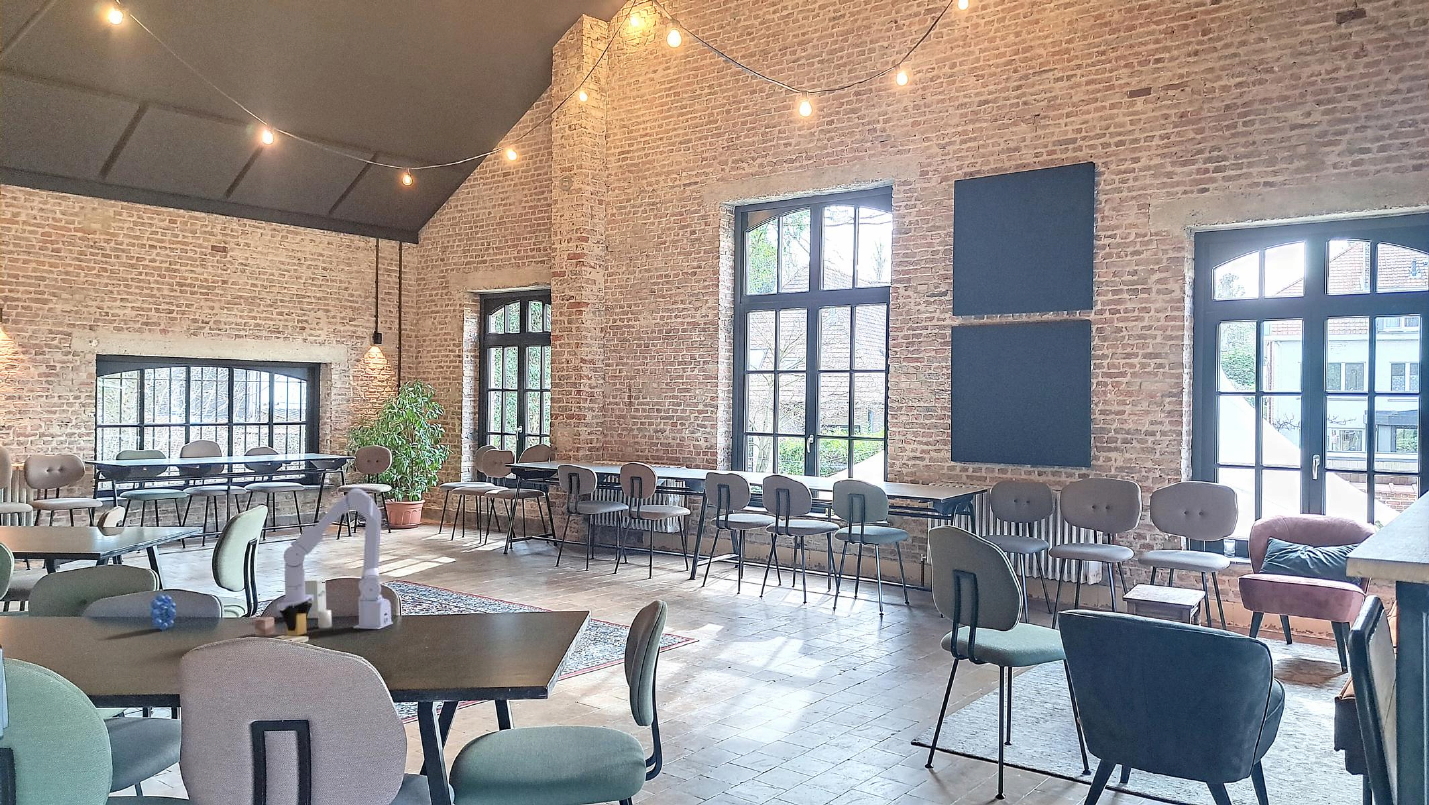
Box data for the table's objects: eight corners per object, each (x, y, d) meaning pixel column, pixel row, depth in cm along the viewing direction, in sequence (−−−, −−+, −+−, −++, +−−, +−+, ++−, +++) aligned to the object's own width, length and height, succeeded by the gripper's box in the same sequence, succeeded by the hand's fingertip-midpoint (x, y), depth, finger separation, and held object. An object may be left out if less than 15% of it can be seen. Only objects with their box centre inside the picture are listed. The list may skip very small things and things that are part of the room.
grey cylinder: (334, 625, 327) (333, 610, 327) (326, 628, 323) (325, 612, 323) (323, 625, 328) (323, 609, 328) (315, 628, 324) (315, 612, 324)
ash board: (308, 640, 307) (308, 636, 307) (285, 649, 298) (285, 645, 298) (280, 639, 310) (280, 635, 310) (257, 647, 301) (257, 643, 301)
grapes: (164, 634, 321) (163, 596, 321) (144, 634, 322) (143, 597, 322) (187, 626, 332) (186, 589, 332) (168, 626, 333) (167, 589, 333)
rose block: (274, 633, 319) (274, 617, 319) (265, 636, 315) (265, 620, 315) (264, 632, 320) (263, 616, 320) (254, 635, 316) (254, 619, 316)
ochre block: (306, 632, 317) (305, 613, 317) (297, 635, 313) (297, 616, 313) (295, 632, 318) (294, 613, 318) (286, 635, 314) (286, 615, 314)
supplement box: (318, 618, 339) (317, 580, 338) (296, 618, 339) (295, 581, 339) (327, 613, 346) (326, 576, 346) (305, 613, 346) (304, 576, 346)
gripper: (299, 580, 324) (301, 622, 324) (267, 589, 310) (269, 633, 310) (318, 580, 322) (320, 623, 322) (287, 590, 308) (289, 634, 308)
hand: (296, 628), depth 316 cm, fingers closed on ochre block, 4 cm apart
